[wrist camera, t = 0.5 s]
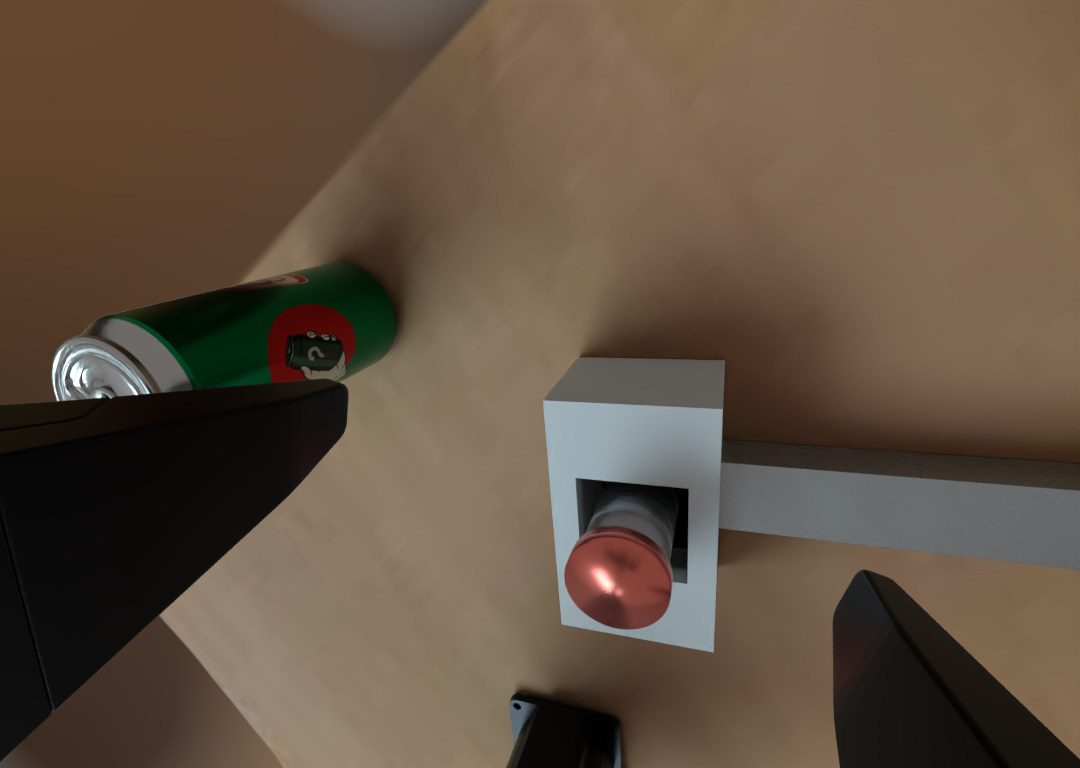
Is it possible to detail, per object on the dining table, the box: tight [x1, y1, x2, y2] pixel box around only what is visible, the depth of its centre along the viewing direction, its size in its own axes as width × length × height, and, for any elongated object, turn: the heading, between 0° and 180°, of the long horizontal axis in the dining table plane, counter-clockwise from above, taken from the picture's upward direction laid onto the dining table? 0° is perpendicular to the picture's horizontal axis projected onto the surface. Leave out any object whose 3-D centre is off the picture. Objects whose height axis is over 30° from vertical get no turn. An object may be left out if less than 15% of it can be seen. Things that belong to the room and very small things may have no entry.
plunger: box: [564, 481, 679, 630], centre depth 20 cm, size 3×3×5 cm
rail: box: [719, 440, 1080, 570], centre depth 19 cm, size 3×22×2 cm, turn 95°
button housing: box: [543, 357, 725, 653], centre depth 22 cm, size 10×6×5 cm, turn 5°
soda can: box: [51, 262, 396, 401], centre depth 21 cm, size 5×5×12 cm
